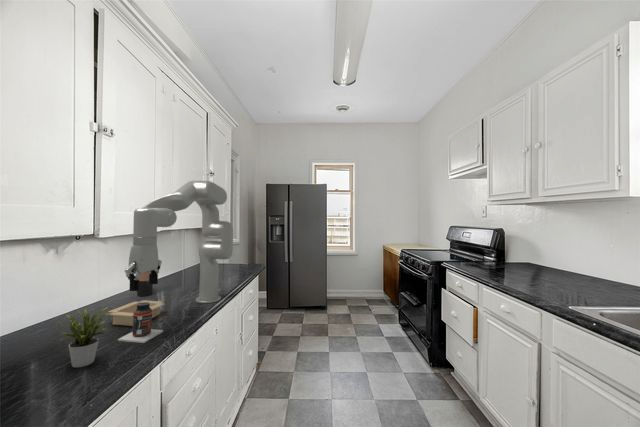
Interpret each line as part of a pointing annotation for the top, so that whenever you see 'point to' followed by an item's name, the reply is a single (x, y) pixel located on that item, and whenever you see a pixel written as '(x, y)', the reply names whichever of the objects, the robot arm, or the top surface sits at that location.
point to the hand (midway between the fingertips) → (144, 287)
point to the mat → (142, 339)
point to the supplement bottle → (142, 320)
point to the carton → (132, 312)
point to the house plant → (84, 339)
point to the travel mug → (144, 285)
